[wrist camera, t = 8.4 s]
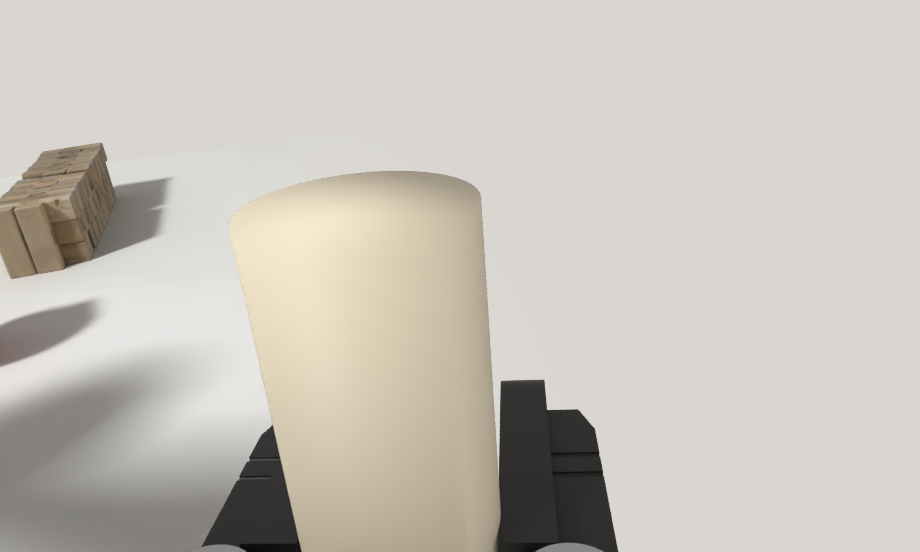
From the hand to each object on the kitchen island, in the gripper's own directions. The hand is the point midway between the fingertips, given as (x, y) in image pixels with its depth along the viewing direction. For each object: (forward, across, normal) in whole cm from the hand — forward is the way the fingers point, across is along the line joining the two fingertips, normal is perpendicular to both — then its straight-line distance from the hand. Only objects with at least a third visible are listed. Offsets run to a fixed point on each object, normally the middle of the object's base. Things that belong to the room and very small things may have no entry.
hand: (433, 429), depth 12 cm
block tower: (+67, +54, +19) cm, 88 cm away
